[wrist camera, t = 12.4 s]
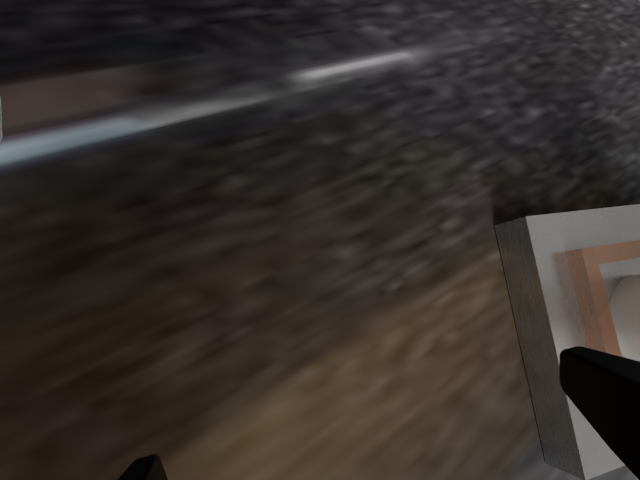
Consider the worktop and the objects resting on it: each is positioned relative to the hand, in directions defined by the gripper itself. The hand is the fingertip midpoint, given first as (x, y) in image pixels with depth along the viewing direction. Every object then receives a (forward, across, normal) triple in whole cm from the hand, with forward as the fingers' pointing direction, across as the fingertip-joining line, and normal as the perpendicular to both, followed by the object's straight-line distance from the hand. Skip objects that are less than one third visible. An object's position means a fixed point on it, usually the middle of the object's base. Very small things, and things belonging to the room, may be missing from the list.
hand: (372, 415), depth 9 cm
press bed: (+13, -18, +9) cm, 24 cm away
